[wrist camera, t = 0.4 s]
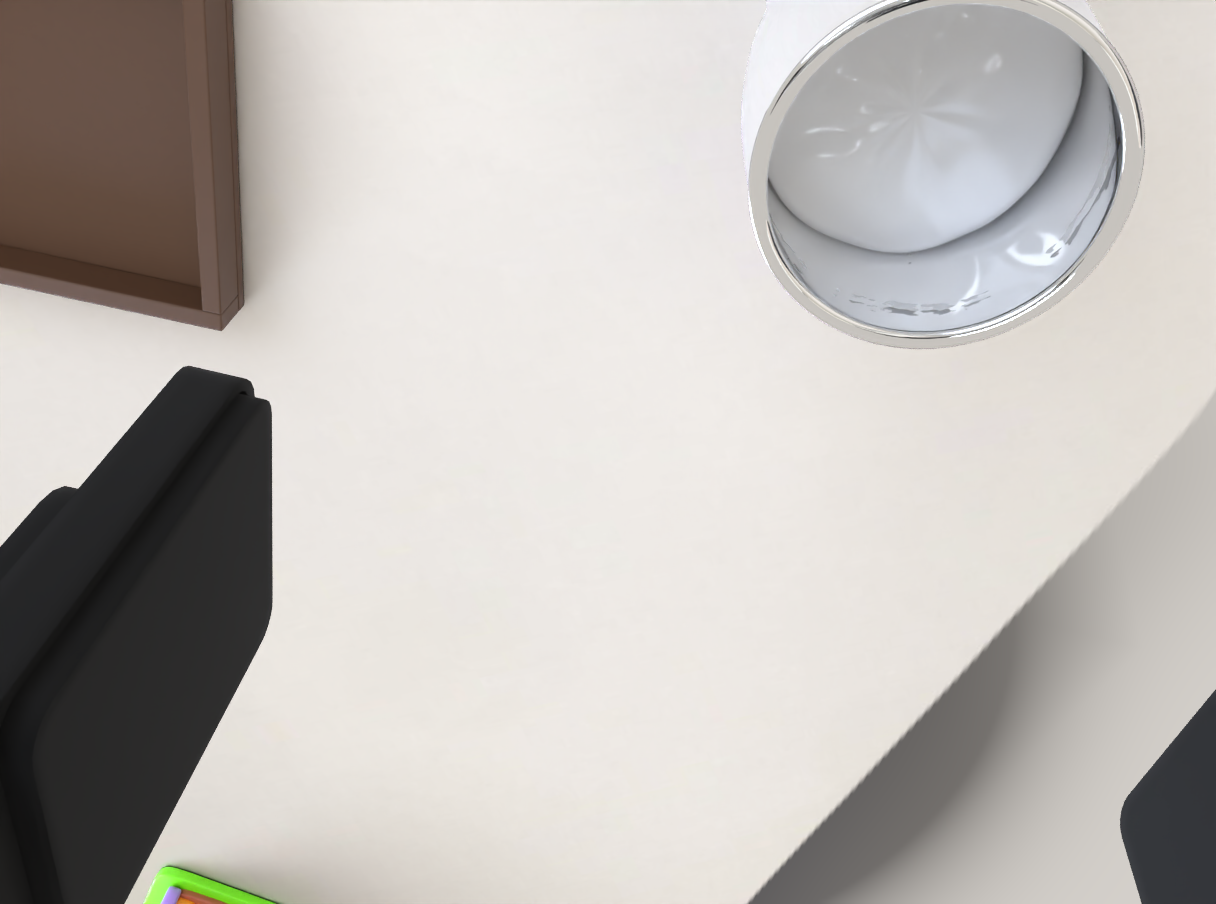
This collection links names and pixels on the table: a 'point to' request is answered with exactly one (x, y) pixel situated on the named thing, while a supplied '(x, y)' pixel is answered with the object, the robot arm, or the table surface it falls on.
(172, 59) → the tray
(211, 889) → the dollhouse room
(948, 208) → the beer glass
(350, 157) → the table surface
